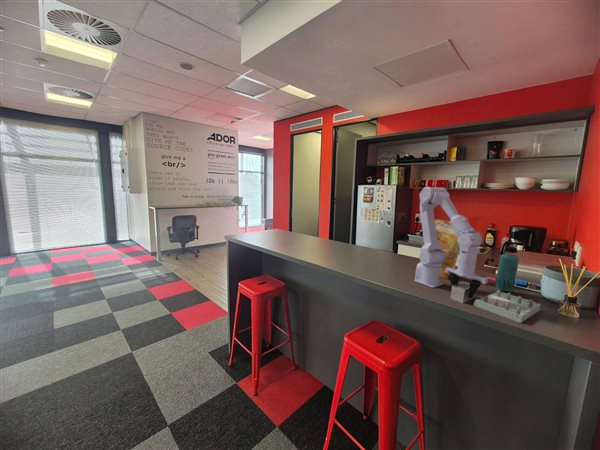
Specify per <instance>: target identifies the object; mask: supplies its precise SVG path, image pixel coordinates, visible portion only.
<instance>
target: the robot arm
mask: <svg viewBox="0 0 600 450" xmlns="http://www.w3.org/2000/svg"><path fill="white" fill-rule="evenodd" d="M418 196H419V200H420V201H419V202H420V203H419V213H420V221H421V229H422V230H421V231H422V238H423V237H424V246H423V247H420V249H419V250H420V251H419V252H420V253H419V254H420V255H419V260H420V261H419V262H418V263H417V265H416V268H415V273H414V274H415V275H414V276H415V277H414V280H413V281H414V282H416V283H419V284H422V285H424V286H426V287H430V288H432V289H434V288H436V287H440V286H442V285H443V283H442V282H440V277H439V276H440V267H441V266H442V263H444V262H445V260H446V256H445V253H444V252H443V248H442V247H441V246H440V245H439V244H438V240H437V233H436V226H435V213H434V209H435V208H436V207H437V206H438V205H439V206H440V207H441V209H442V210H443V211H444V213H446V215H447V216H448V218H449V219H450V224H451V226H452V227H453V229H454V231H455V232H456V234H457V235H458V237H459V238H458V243H459V245H460V247H459V249H460V252H459V255H458V263H457V268H454V269H453V268H449V267H448V268H446V270H445V272H446V273H450V275H448V278H449V279H448V280H449V282H450V284H451V287H452V286H453V285H455V284H458V283H460V278H461V277H462V278H464V279H468V280H469V282H468V283H469V285H470V291H469V298H470V299H471V298H473V296H474V297H475V294H476V291H478V289H479V287H480V286H481V285H486V284H488V282H487V280H488V278H485V277H482V276H479V275H477V274H478V273H477V274H474V273H476V272H475V271H476V265H477V260H478V259H477V257H478V253H479V252H478V251H479V246H481V245H482V244H483V242H484V241H483V240H484V239H483V235H482V233H480V232H478V231H476V230H475V228H474V227H472V225H471V224H470V222H469V219H468V217H465V216H464V215H460V214H459V212H458V210H457V208H456V207H455V205H454V203H453V201H452V200H451V198H450V193H449V192H448V190H447V189H446V188H445V187H430V186H425V187H423V189H422V190H421V191H420V193H419V195H418ZM430 250H433V251H430ZM473 299H474V298H473ZM471 300H472V299H471Z"/></svg>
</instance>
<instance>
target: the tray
mask: <svg viewBox="0 0 600 450" xmlns="http://www.w3.org/2000/svg"><path fill="white" fill-rule="evenodd" d="M541 305H542V304H541V303H538V302H535V301H534V300H533V299H525V298H523V296H520V295H518V296H516V295H513V294H512V293H511V292H507V293H506V292H504V291H503V292H502V290H500V289H497V290H495V292H493V293H491V294H488V295H484V297H481V298H480V299H475V301H473V306H474V307H477V308H479V309H482V310H485V311H487V312H490V313H493V314H496V315H498V316H501V317H503V318H506V319H509V320H511V321H514V322H517V323H520V324H522V323H523V322H525V321H526V320H527V319H529V318H531V317H532V316H534V315H535V314H536V313H538V312H540V310H541Z"/></svg>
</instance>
